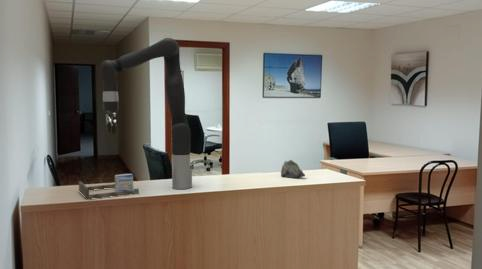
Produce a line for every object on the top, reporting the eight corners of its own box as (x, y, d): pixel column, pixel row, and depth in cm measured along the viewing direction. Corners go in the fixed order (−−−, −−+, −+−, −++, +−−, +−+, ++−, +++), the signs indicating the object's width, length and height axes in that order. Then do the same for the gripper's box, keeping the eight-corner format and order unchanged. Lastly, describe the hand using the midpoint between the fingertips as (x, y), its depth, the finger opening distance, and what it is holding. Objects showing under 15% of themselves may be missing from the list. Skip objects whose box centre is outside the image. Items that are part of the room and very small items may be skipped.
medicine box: (117, 193, 214) (117, 176, 213) (114, 192, 217) (114, 174, 216) (133, 191, 218) (133, 174, 217) (130, 190, 222) (130, 173, 221)
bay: (127, 186, 230) (127, 176, 230) (138, 193, 213) (138, 183, 213) (79, 191, 218) (78, 181, 218) (87, 199, 201) (86, 189, 201)
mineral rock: (306, 179, 249) (306, 161, 248) (288, 180, 246) (288, 162, 245) (295, 175, 261) (295, 158, 260) (279, 176, 258) (279, 159, 257)
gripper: (122, 100, 219) (122, 133, 221) (114, 100, 232) (115, 131, 233) (106, 101, 215) (107, 134, 217) (99, 100, 228) (100, 132, 229)
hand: (111, 132), depth 225 cm, fingers open, 8 cm apart
